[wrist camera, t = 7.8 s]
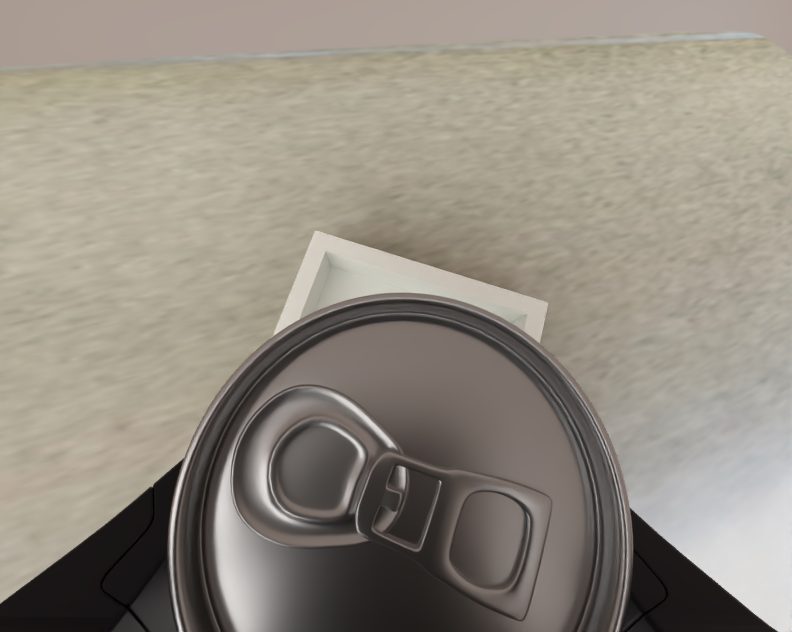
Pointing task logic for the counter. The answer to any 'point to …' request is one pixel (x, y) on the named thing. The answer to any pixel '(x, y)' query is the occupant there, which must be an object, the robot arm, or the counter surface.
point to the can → (400, 483)
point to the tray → (394, 284)
